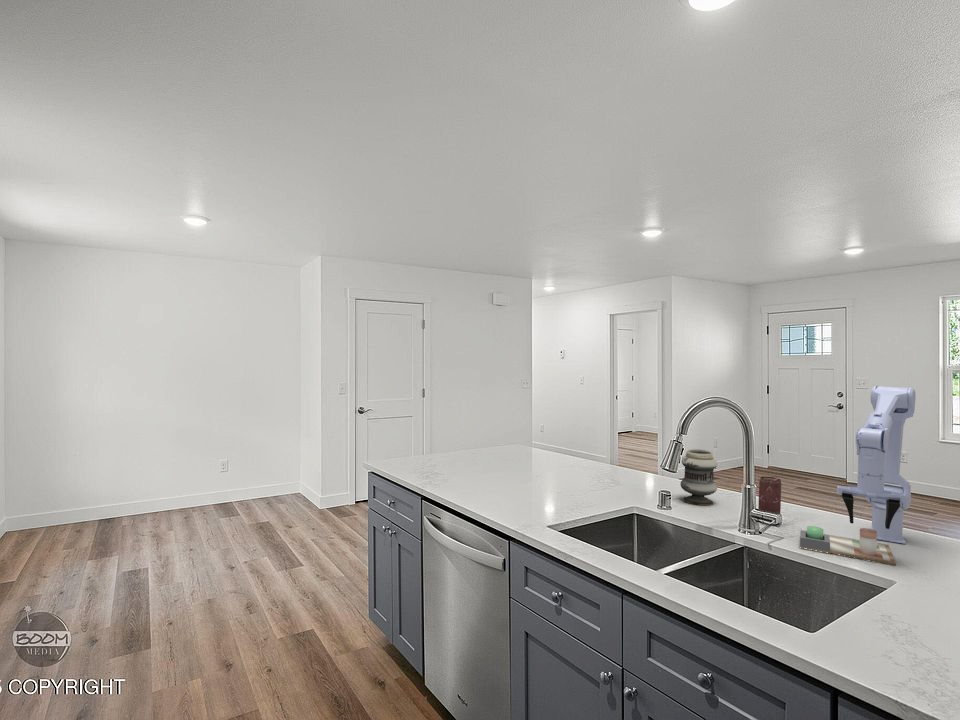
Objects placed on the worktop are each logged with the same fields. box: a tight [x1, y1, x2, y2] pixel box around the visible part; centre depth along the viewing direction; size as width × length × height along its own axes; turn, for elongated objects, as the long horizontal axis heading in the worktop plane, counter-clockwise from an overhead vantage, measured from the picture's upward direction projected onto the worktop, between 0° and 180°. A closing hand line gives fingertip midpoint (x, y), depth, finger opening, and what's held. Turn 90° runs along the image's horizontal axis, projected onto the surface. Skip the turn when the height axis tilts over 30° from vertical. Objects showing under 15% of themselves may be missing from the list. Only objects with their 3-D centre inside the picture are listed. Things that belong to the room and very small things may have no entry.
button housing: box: [799, 530, 830, 552], centre depth 149 cm, size 7×7×2 cm
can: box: [757, 476, 782, 515], centre depth 170 cm, size 6×6×14 cm
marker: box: [859, 527, 878, 556], centre depth 143 cm, size 4×4×6 cm
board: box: [799, 529, 897, 567], centre depth 149 cm, size 16×21×1 cm
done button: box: [806, 525, 824, 540], centre depth 149 cm, size 4×4×3 cm
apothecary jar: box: [680, 448, 718, 507], centre depth 192 cm, size 12×12×18 cm
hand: (869, 525), depth 143 cm, fingers open, 7 cm apart
